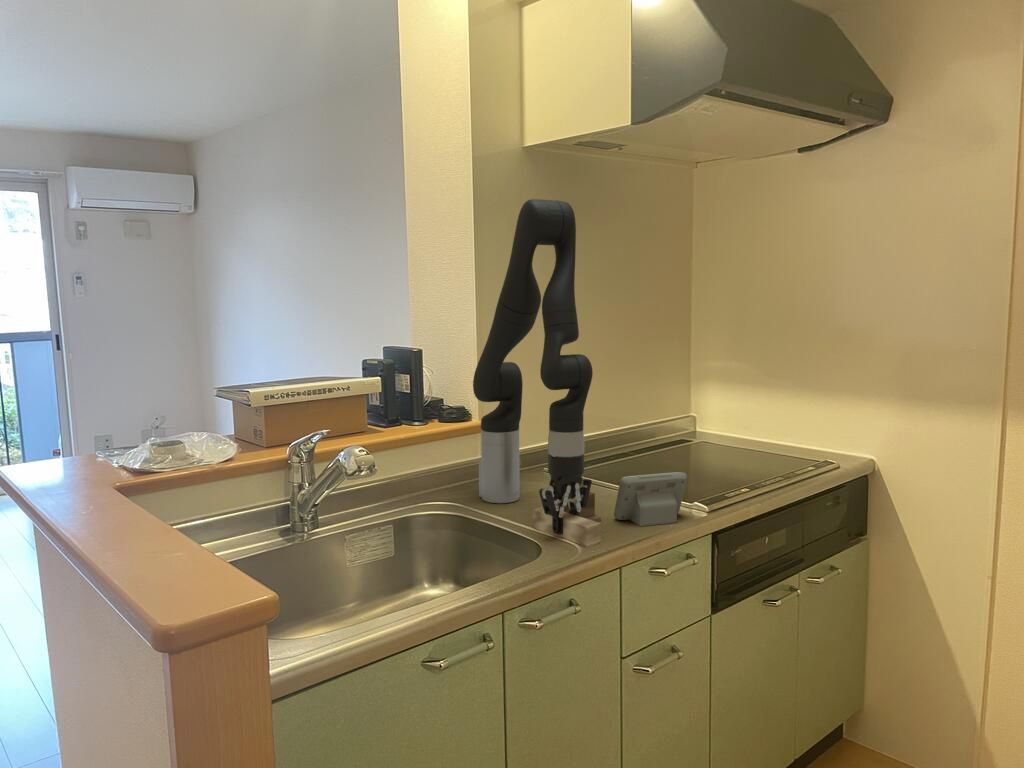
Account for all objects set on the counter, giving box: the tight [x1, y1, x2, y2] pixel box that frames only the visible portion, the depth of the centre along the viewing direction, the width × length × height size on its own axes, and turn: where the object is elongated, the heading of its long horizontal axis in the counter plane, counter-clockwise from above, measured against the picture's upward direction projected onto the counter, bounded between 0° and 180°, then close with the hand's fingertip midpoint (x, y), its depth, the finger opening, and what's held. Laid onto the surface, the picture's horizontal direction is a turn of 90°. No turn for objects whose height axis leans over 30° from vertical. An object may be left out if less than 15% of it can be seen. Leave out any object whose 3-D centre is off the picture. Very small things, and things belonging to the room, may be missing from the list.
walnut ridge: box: [558, 491, 602, 522], centre depth 171 cm, size 6×9×6 cm, turn 133°
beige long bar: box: [532, 506, 602, 548], centre depth 163 cm, size 16×4×4 cm, turn 42°
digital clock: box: [613, 471, 688, 527], centre depth 172 cm, size 16×9×11 cm, turn 95°
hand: (565, 530), depth 163 cm, fingers closed on beige long bar, 4 cm apart
